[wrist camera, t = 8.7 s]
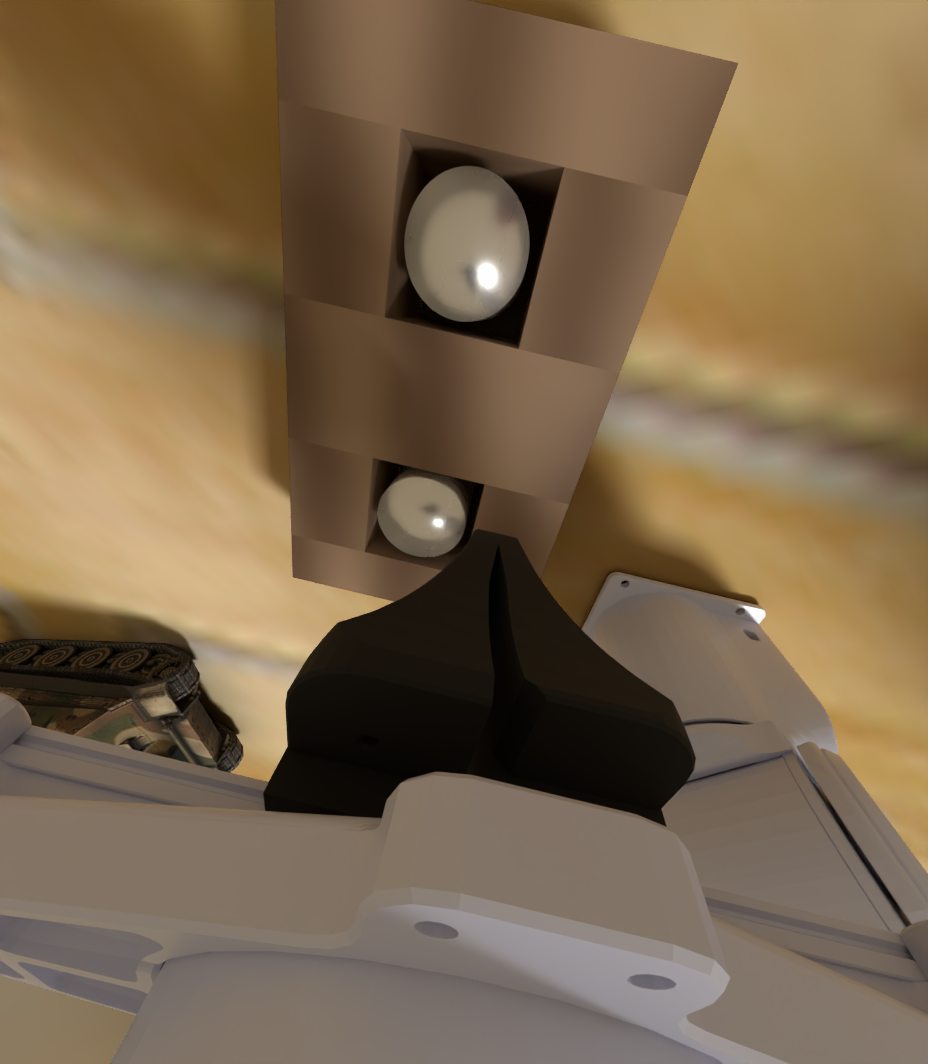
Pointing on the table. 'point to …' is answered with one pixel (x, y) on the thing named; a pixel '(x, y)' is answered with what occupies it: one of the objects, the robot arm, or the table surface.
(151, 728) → the model tank
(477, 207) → the peg
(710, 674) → the robot arm
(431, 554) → the peg
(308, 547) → the walnut block
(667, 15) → the table surface
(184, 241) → the table surface
